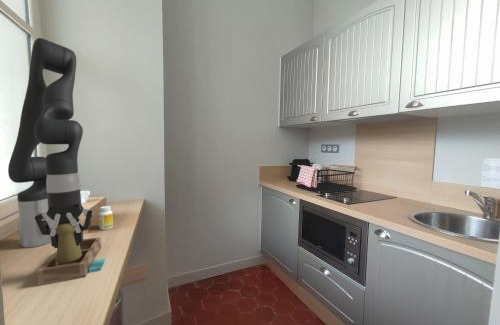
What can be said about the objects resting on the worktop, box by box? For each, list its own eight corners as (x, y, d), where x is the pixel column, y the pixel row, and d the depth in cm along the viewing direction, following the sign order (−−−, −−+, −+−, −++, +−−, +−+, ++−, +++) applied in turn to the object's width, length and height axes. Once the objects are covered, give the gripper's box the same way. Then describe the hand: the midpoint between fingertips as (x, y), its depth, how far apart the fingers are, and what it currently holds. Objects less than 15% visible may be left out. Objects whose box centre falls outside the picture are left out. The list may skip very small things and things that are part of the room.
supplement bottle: (96, 230, 101) (95, 208, 100) (103, 225, 107) (102, 205, 106) (109, 229, 102) (108, 208, 101) (115, 225, 107) (114, 205, 106)
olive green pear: (68, 264, 65) (64, 226, 64) (50, 262, 66) (47, 225, 65) (87, 253, 70) (84, 219, 69) (70, 252, 72) (67, 218, 71)
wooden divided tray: (65, 252, 80) (65, 241, 80) (111, 246, 85) (111, 235, 85) (38, 285, 61) (37, 271, 61) (98, 274, 67) (98, 261, 66)
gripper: (25, 193, 60) (30, 256, 62) (89, 189, 66) (93, 246, 67) (38, 188, 67) (43, 244, 68) (96, 185, 73) (99, 237, 74)
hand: (68, 245), depth 68 cm, fingers closed on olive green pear, 4 cm apart
